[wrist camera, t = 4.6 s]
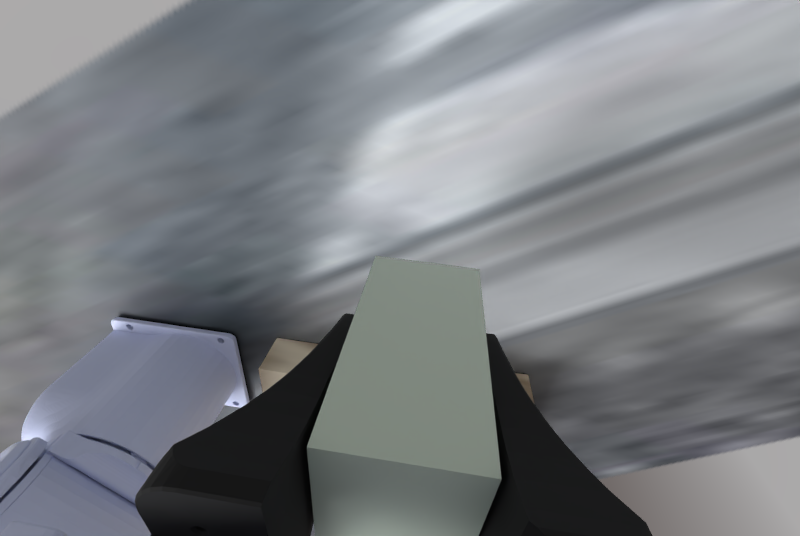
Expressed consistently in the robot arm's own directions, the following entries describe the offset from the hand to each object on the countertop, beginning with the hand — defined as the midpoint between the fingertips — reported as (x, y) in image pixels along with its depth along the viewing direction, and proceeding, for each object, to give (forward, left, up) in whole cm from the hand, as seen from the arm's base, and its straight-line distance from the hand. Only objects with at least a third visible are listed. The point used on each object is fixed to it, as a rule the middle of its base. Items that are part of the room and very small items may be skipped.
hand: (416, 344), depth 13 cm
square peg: (0, 0, -2) cm, 2 cm away
